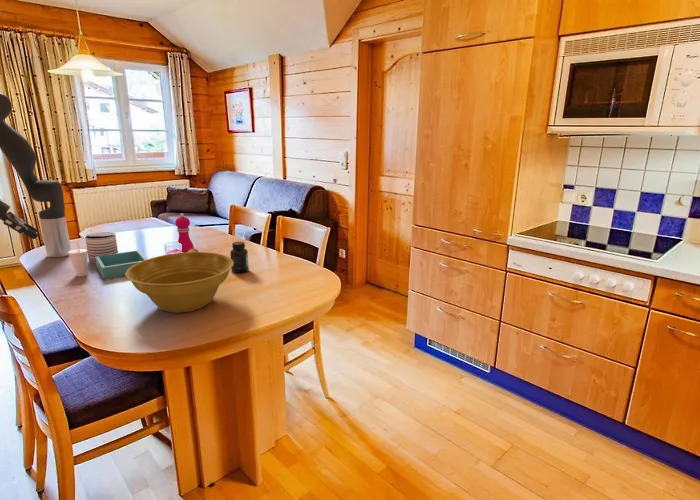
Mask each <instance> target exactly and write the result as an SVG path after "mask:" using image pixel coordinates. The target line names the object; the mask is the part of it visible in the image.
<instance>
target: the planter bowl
mask: <svg viewBox="0 0 700 500" xmlns="http://www.w3.org/2000/svg"><path fill="white" fill-rule="evenodd" d="M146 259H147V260H144V261H141V262H139V263H137V264H135V265H133V266H131V267H130V268H129V269H128V270H127V271H126V273H125V276H126V277H125V278H126V279H127V280H129V281H130V282H131V283H132V285H133V286H134V288H135V289H136V290H137V291H138V292H141V293H143V294H144V295H147V296H148V298H149V299H150V301H152V303H153V304H154V305H155V306H156V307H158V308H159V309H160V310H163V311H166V312H168V313H189V312H193V311H197V310H198V309H202V308H203V307H205V306H206V305H207V304H209V303H211V302H212V300H213V298H214V297H215V295H216V293H217V291H218V289H219V287H220V285H221V284H223V282H225V281H226V279H228V278H227V277H228V276H229V273H230V270H231V268H232V267H233V265H234V262H233V260H232V259H231V257H229V256H228V255H224V254H220V253H216V252H205V251H199V252H186V253H179V252H177V253H170V254H164V255H159V256H155V257H154V256H153V257H150V258H146Z"/></svg>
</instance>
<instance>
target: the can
mask: <svg viewBox="0 0 700 500" xmlns="http://www.w3.org/2000/svg"><path fill="white" fill-rule="evenodd" d="M116 235H117V234H116V232H110V231H108V232H103V231H102V232H101V231H99V232H92V233H86V234H84V237H85V243H86V244H85V245H86V249H87V251H88V253H87V258H88V261H89V263H91V264H96V265H97V263H96V257H95V256H101V255H108V254H115V253H119V249H118V243H117V237H116Z"/></svg>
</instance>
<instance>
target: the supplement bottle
mask: <svg viewBox="0 0 700 500" xmlns="http://www.w3.org/2000/svg"><path fill="white" fill-rule="evenodd" d="M245 244H246V243H245V242H244V241H233V242H232V243H231V245H232V246H231V247H232V249H231V250H230V251H229V253H230V258H231V259H232V260H233V262H234V265H233V267H232V268H231V269H230V270H231V273H232V274H235V275H236V274H237V275H242V274H247V273H248V272H249V269H250V267H249V252H248V249H247V248H246V245H245Z"/></svg>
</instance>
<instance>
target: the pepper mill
mask: <svg viewBox="0 0 700 500" xmlns="http://www.w3.org/2000/svg"><path fill="white" fill-rule="evenodd" d="M174 222H175V223H174V224H175V226H176V227H177V228H176V229H177V232H178V239H177V242H179V243H181V244H182V252H183V253H186V252H188V251H189V250H190V249H195V247H194V244H193V241H192V240H191V238H190V233H189V232H190V226H191V221H190V219H189V218H188V217H187V216H185V214H184V213H180V214H179V216H178V217H177V218H176V219H175V221H174Z"/></svg>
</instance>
